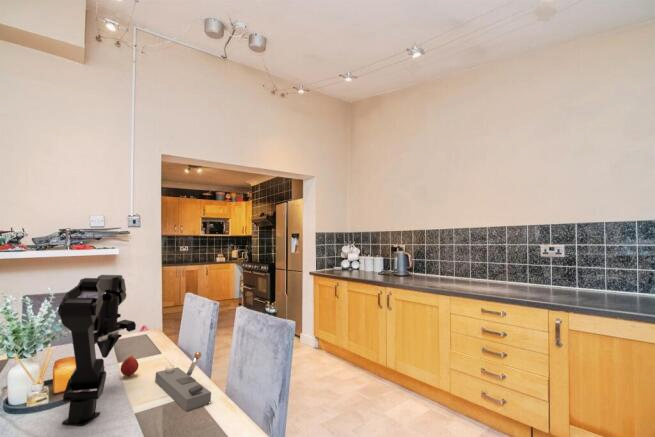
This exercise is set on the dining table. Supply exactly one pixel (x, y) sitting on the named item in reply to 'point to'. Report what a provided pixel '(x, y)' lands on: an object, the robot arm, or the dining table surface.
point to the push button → (169, 369)
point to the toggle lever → (194, 363)
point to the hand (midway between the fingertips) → (104, 357)
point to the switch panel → (182, 389)
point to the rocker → (195, 389)
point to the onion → (129, 366)
